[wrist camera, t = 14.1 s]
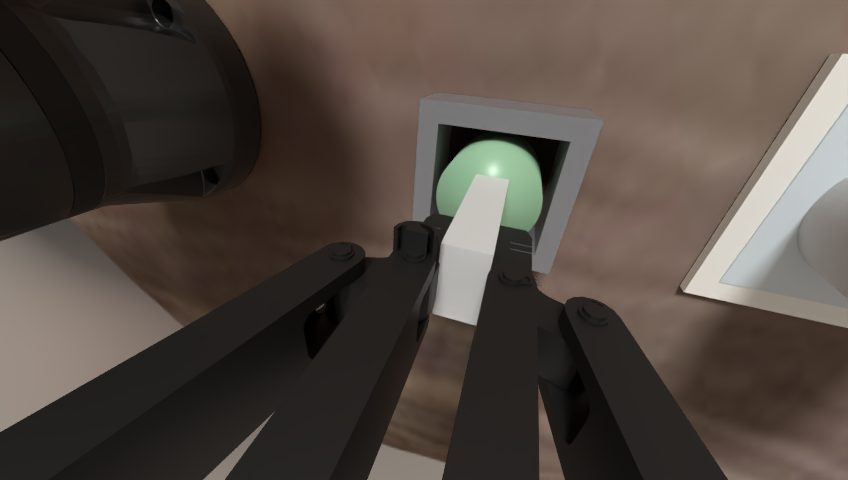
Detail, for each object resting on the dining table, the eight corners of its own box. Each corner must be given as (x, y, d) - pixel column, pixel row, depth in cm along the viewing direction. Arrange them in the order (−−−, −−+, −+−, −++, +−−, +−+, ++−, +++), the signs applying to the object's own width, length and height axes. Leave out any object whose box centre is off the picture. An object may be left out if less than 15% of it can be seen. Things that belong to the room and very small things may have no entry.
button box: (427, 218, 21) (410, 242, 19) (438, 92, 17) (419, 98, 14) (546, 243, 20) (548, 274, 17) (590, 109, 16) (603, 120, 13)
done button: (448, 206, 20) (432, 235, 17) (458, 125, 17) (441, 140, 14) (528, 222, 19) (527, 256, 16) (551, 138, 16) (557, 157, 13)
